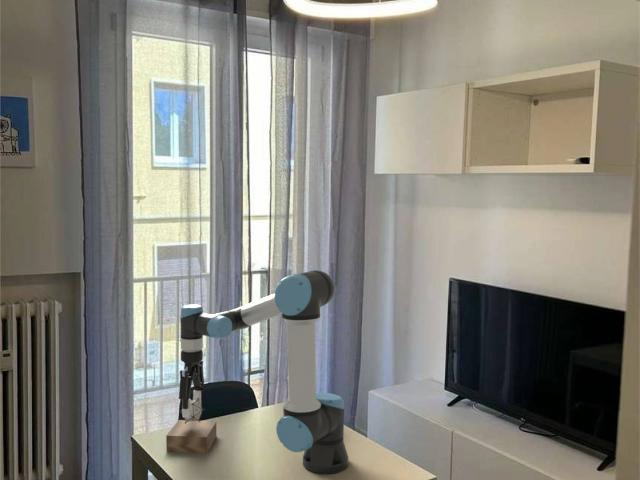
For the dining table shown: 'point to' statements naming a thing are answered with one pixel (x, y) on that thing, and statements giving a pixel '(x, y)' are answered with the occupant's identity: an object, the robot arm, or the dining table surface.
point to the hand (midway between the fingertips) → (192, 412)
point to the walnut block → (191, 436)
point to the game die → (194, 411)
